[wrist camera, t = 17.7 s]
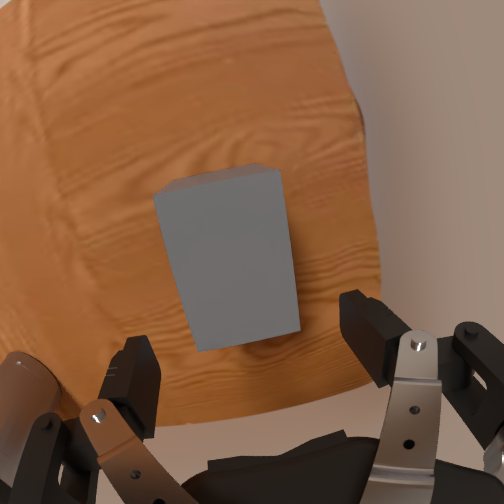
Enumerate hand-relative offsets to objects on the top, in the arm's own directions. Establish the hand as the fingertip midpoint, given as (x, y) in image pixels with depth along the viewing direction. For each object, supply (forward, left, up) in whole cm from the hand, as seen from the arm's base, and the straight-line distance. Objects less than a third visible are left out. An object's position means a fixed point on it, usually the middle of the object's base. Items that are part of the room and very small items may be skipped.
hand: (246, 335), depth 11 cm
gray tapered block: (0, 0, -15) cm, 15 cm away
